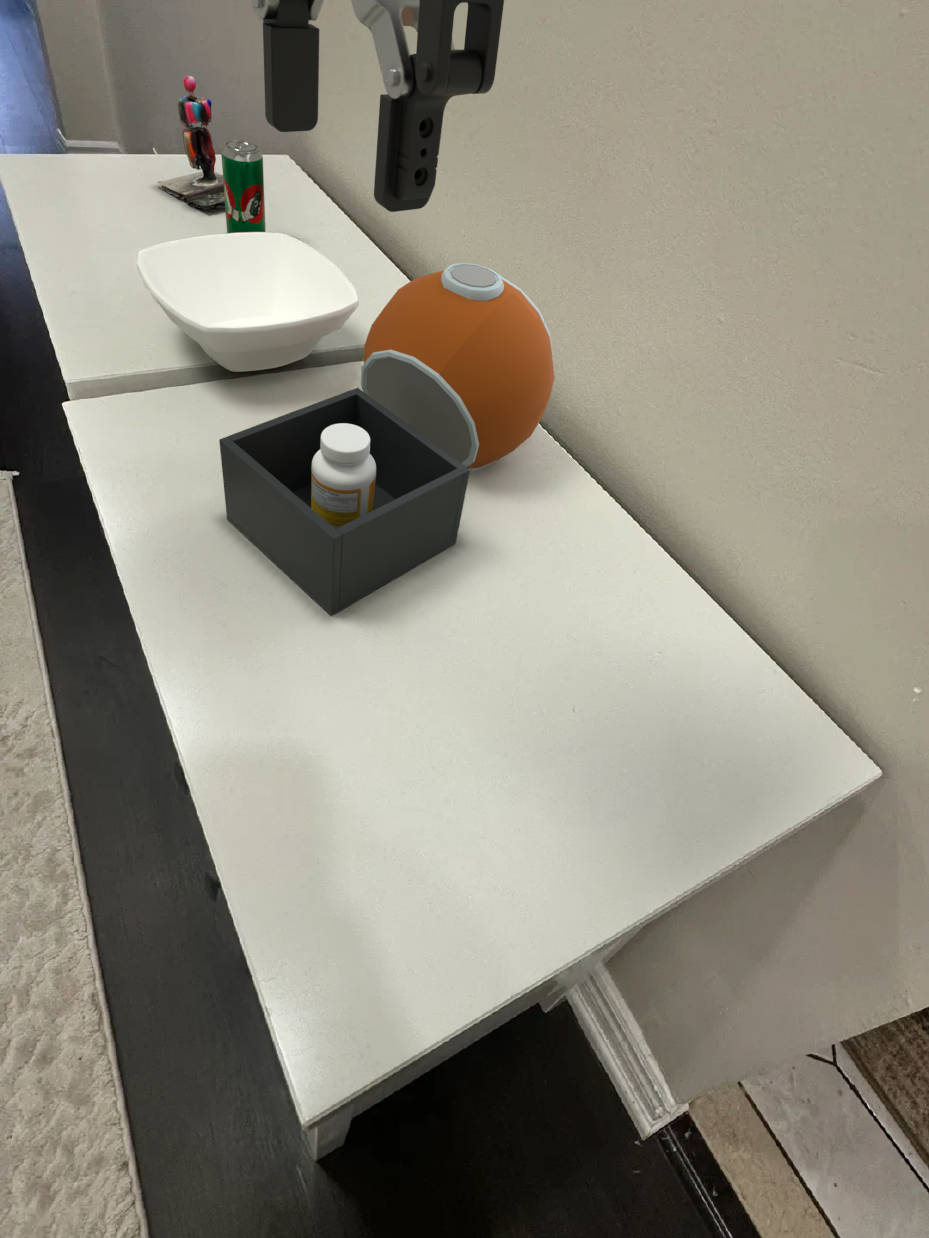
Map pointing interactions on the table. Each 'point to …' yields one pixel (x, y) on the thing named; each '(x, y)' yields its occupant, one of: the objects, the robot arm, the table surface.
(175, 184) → the statue
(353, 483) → the supplement bottle
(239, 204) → the soda can
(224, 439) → the bin
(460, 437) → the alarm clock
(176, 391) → the table surface
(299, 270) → the bowl
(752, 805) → the table surface
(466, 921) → the table surface
